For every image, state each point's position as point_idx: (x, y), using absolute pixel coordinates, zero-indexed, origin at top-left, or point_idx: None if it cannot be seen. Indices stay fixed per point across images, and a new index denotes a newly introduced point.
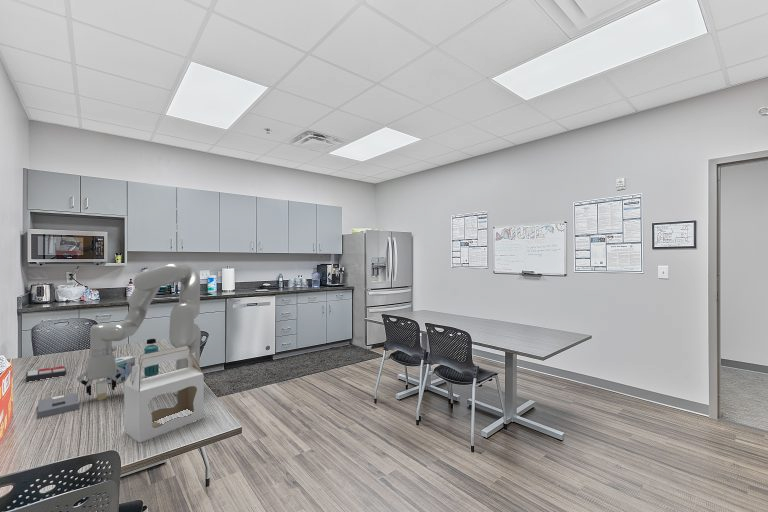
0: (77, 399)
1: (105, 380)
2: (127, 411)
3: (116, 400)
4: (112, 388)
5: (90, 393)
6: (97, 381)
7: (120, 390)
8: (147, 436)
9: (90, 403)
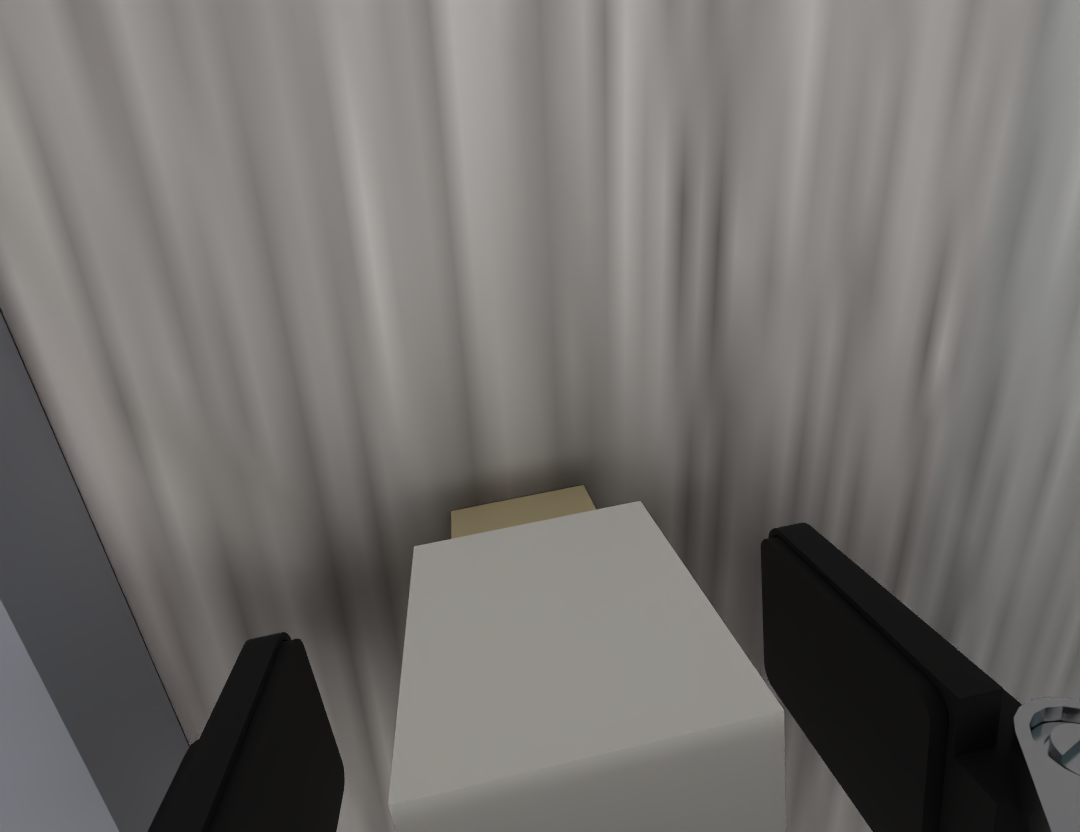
0: (98, 817)
1: (754, 807)
2: None
3: None
4: (783, 688)
5: (329, 813)
6: (457, 800)
7: (859, 207)
8: None
9: (372, 708)
